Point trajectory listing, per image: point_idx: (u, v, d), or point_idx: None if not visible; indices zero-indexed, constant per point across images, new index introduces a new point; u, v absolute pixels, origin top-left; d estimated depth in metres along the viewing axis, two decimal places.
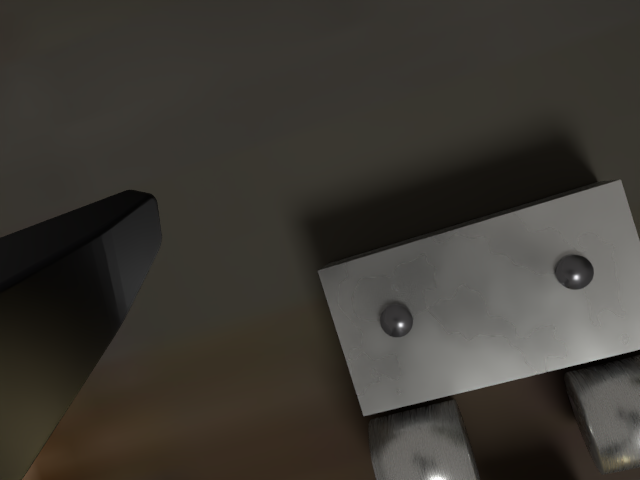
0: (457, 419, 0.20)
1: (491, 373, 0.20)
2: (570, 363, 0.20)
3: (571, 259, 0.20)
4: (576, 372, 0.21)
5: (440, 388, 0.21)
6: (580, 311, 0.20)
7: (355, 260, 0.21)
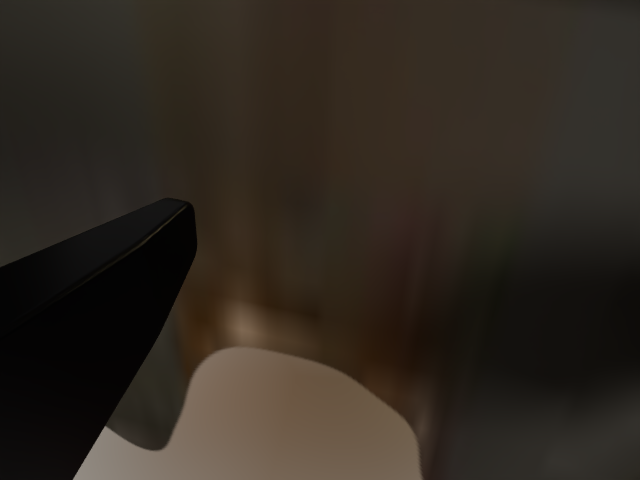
0: None
1: None
2: None
3: None
4: None
5: None
6: None
7: None
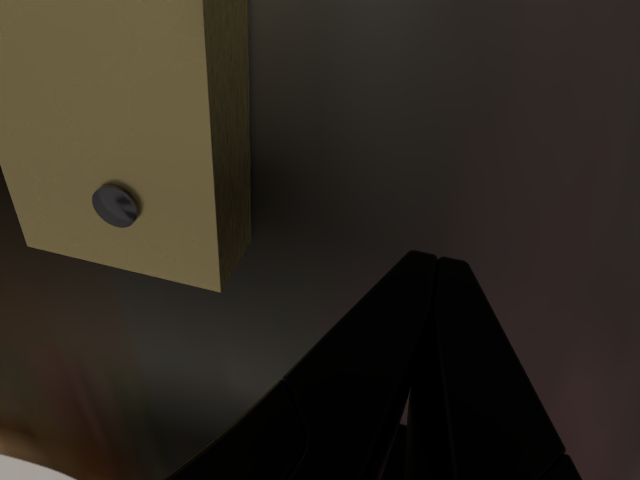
0: None
1: None
2: None
3: None
4: None
5: None
6: None
7: None
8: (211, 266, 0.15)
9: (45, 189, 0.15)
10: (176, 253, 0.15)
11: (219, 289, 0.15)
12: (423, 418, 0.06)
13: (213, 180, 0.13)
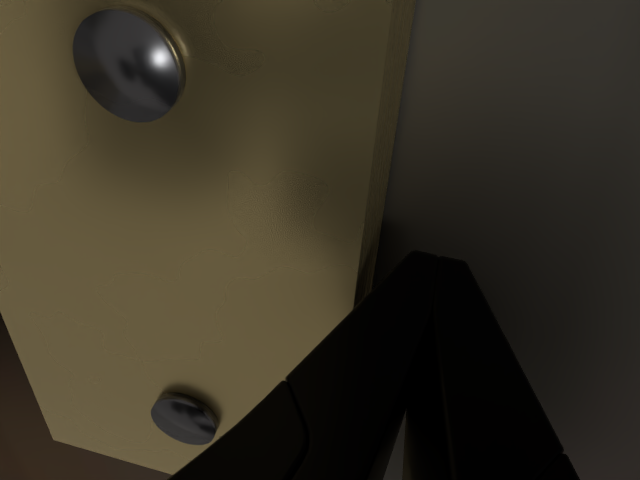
0: None
1: None
2: None
3: None
4: None
5: None
6: None
7: None
8: None
9: (82, 387, 0.10)
10: None
11: None
12: (421, 417, 0.06)
13: None
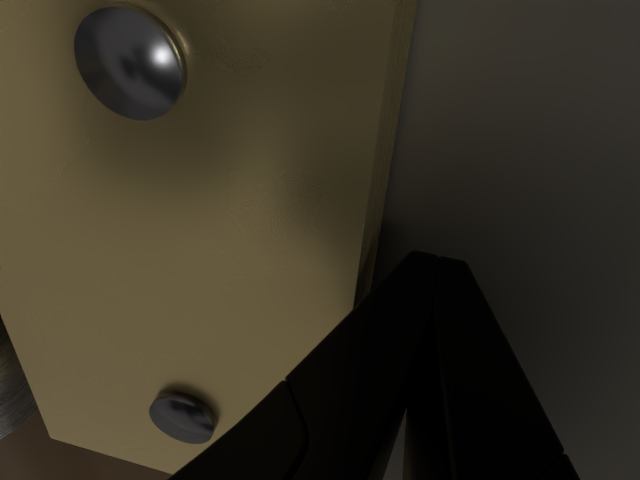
0: None
1: None
2: None
3: None
4: None
5: None
6: None
7: None
8: None
9: (80, 385, 0.10)
10: None
11: None
12: (421, 417, 0.06)
13: None
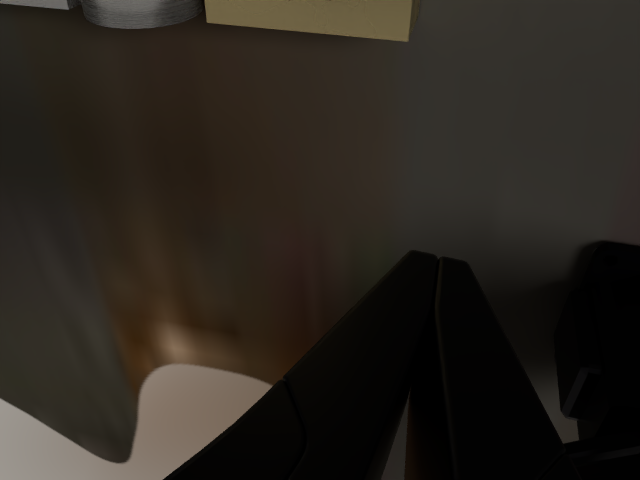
0: None
1: None
2: None
3: None
4: None
5: None
6: None
7: None
8: (403, 7, 0.15)
9: None
10: None
11: (407, 38, 0.16)
12: (423, 418, 0.06)
13: None
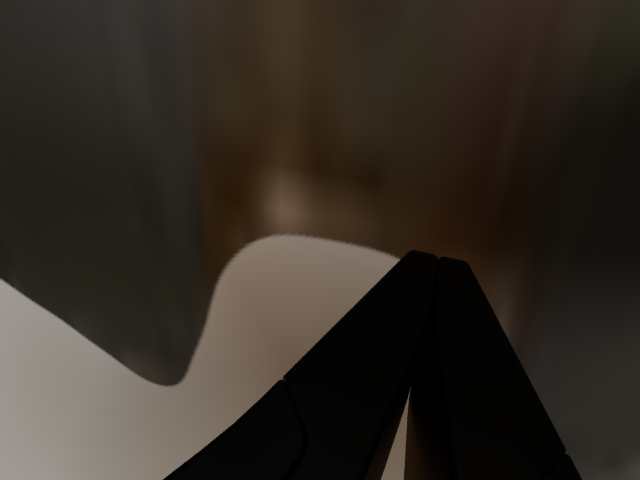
0: None
1: None
2: None
3: None
4: None
5: None
6: None
7: None
8: None
9: None
10: None
11: None
12: (423, 418, 0.06)
13: None
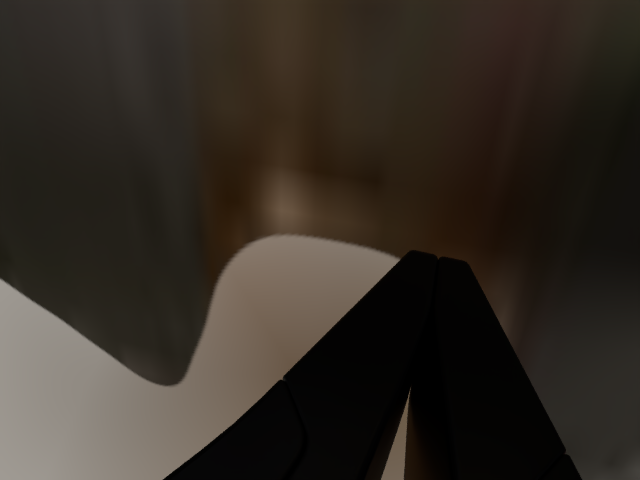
0: None
1: None
2: None
3: None
4: None
5: None
6: None
7: None
8: None
9: None
10: None
11: None
12: (423, 418, 0.06)
13: None
